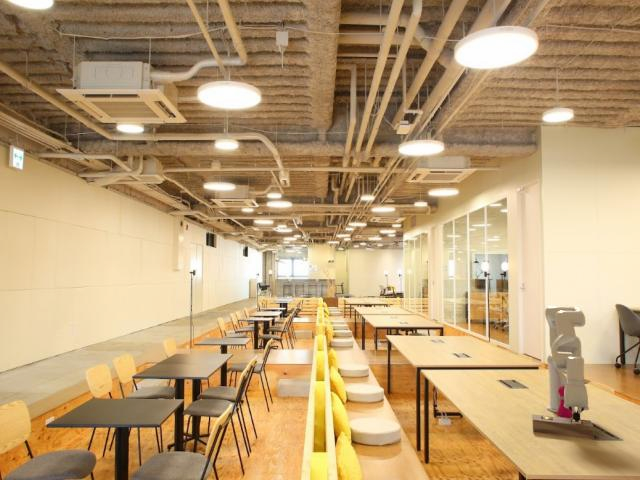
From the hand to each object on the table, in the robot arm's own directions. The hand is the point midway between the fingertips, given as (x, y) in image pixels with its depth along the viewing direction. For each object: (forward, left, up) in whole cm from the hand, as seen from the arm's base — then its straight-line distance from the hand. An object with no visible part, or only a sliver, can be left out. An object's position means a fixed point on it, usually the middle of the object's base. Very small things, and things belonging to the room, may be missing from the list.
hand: (576, 420), depth 230 cm
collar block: (0, -7, -7) cm, 9 cm away
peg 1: (0, -13, -5) cm, 14 cm away
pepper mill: (-19, -4, -7) cm, 21 cm away
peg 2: (0, 0, -5) cm, 5 cm away
